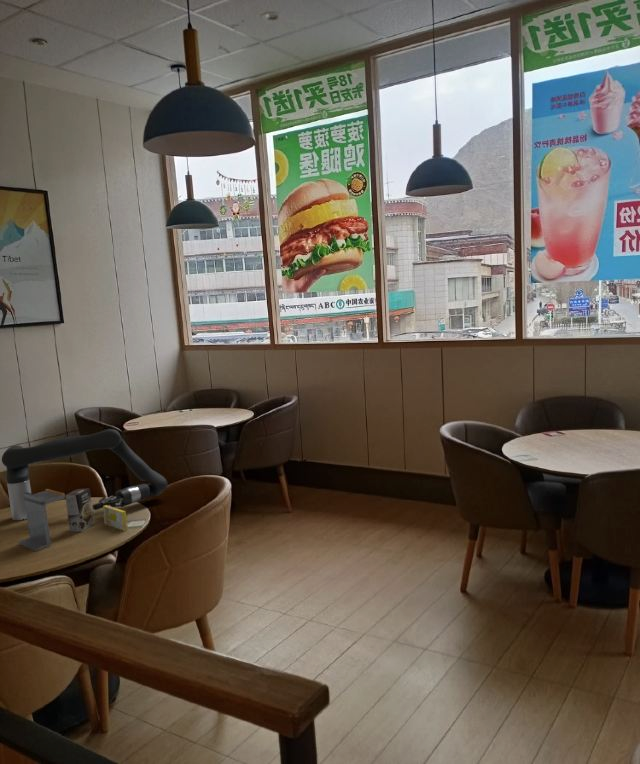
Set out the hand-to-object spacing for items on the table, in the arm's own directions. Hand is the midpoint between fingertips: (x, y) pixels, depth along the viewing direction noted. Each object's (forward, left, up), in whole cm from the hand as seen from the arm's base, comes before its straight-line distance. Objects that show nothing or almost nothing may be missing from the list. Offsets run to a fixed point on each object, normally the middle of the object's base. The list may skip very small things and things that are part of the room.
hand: (93, 507), depth 268 cm
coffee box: (0, -7, -7) cm, 10 cm away
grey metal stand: (0, -23, -7) cm, 24 cm away
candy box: (+13, +1, -7) cm, 15 cm away
